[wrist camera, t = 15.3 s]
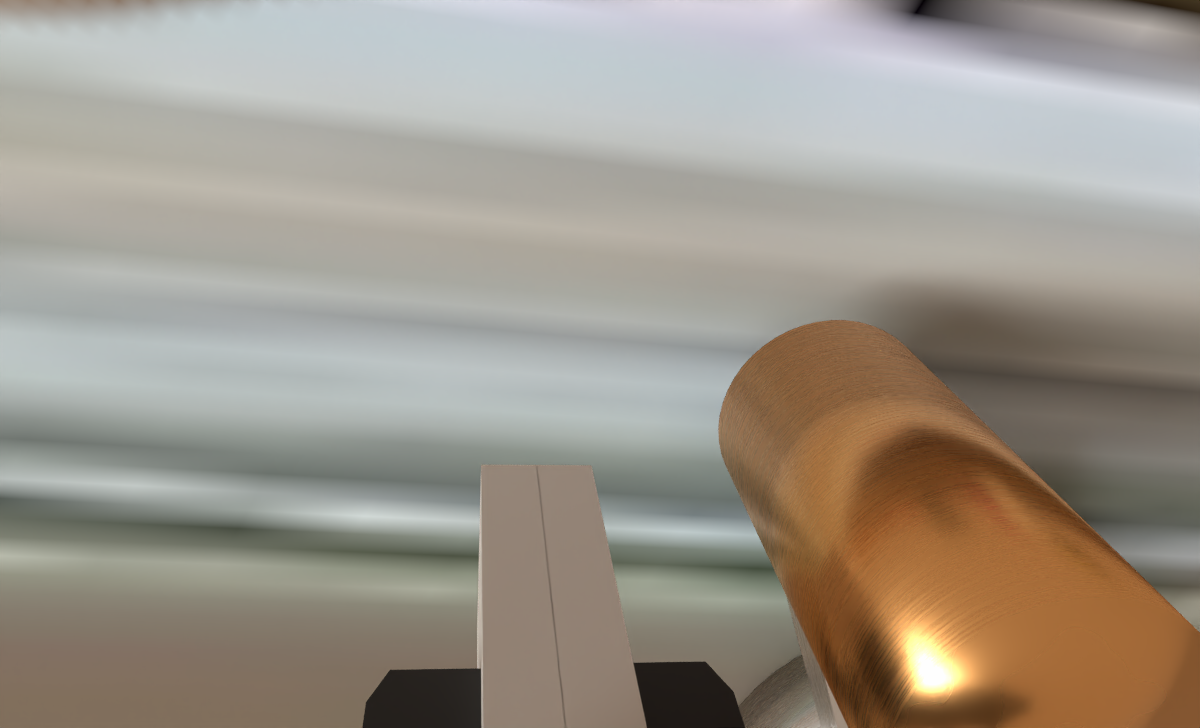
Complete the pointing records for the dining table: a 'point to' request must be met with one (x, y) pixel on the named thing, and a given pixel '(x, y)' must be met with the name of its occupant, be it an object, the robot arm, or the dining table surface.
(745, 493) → the crank lever
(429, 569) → the dining table surface
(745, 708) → the crank base
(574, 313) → the dining table surface
